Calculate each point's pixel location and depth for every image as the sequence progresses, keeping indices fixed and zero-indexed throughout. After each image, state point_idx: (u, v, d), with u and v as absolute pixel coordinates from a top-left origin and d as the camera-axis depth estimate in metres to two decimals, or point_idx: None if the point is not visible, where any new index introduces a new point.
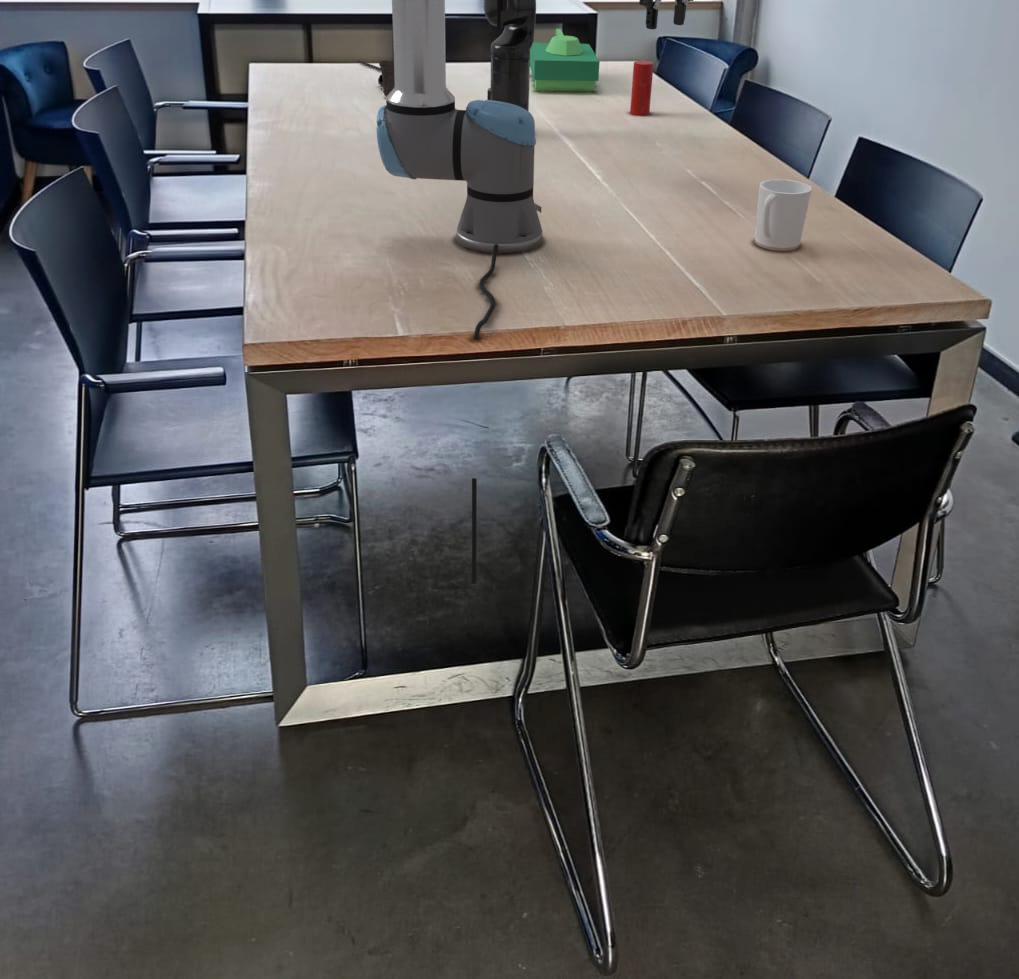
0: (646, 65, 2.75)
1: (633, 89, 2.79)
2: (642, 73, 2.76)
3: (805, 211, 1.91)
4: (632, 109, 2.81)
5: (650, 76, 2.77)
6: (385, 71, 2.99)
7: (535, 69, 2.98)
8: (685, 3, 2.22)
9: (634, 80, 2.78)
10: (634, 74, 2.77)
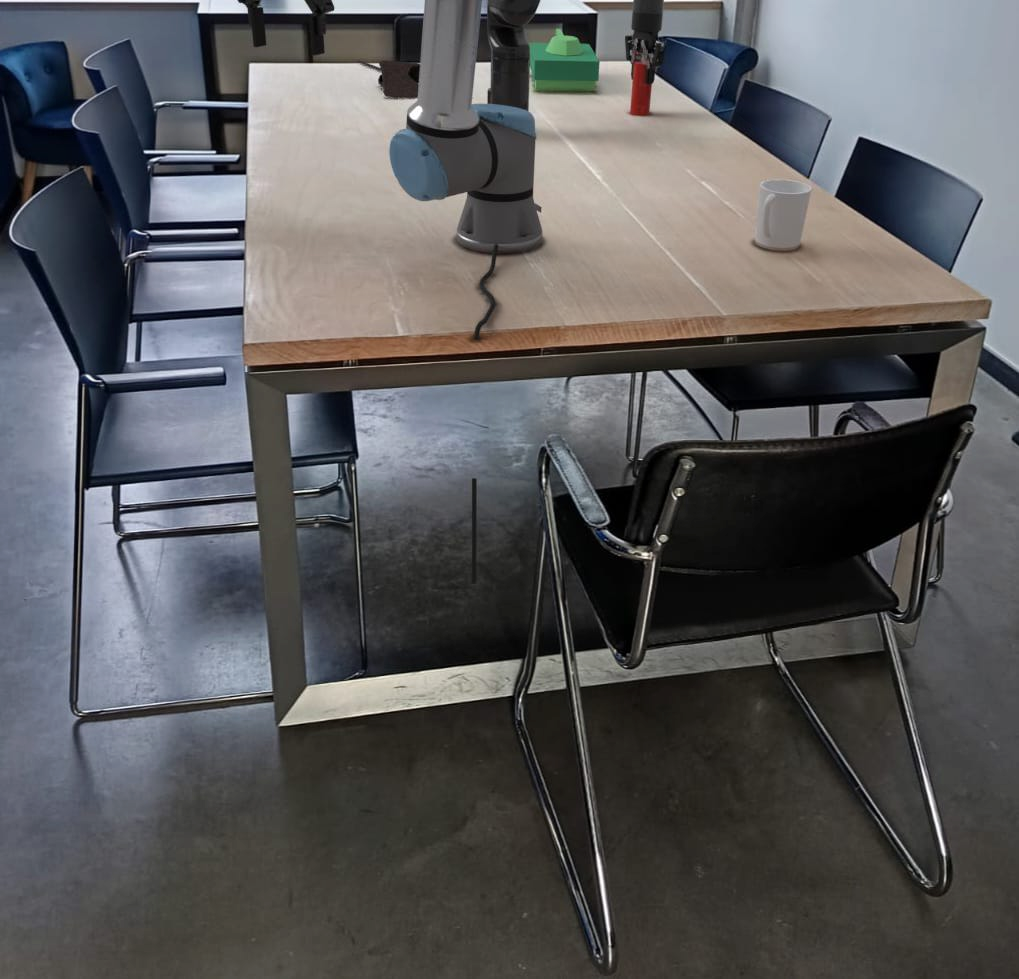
0: (646, 65, 2.75)
1: (633, 89, 2.79)
2: (642, 73, 2.76)
3: (805, 211, 1.91)
4: (632, 109, 2.81)
5: None
6: (385, 71, 2.99)
7: (535, 69, 2.98)
8: (647, 67, 2.74)
9: (634, 80, 2.78)
10: (634, 74, 2.77)
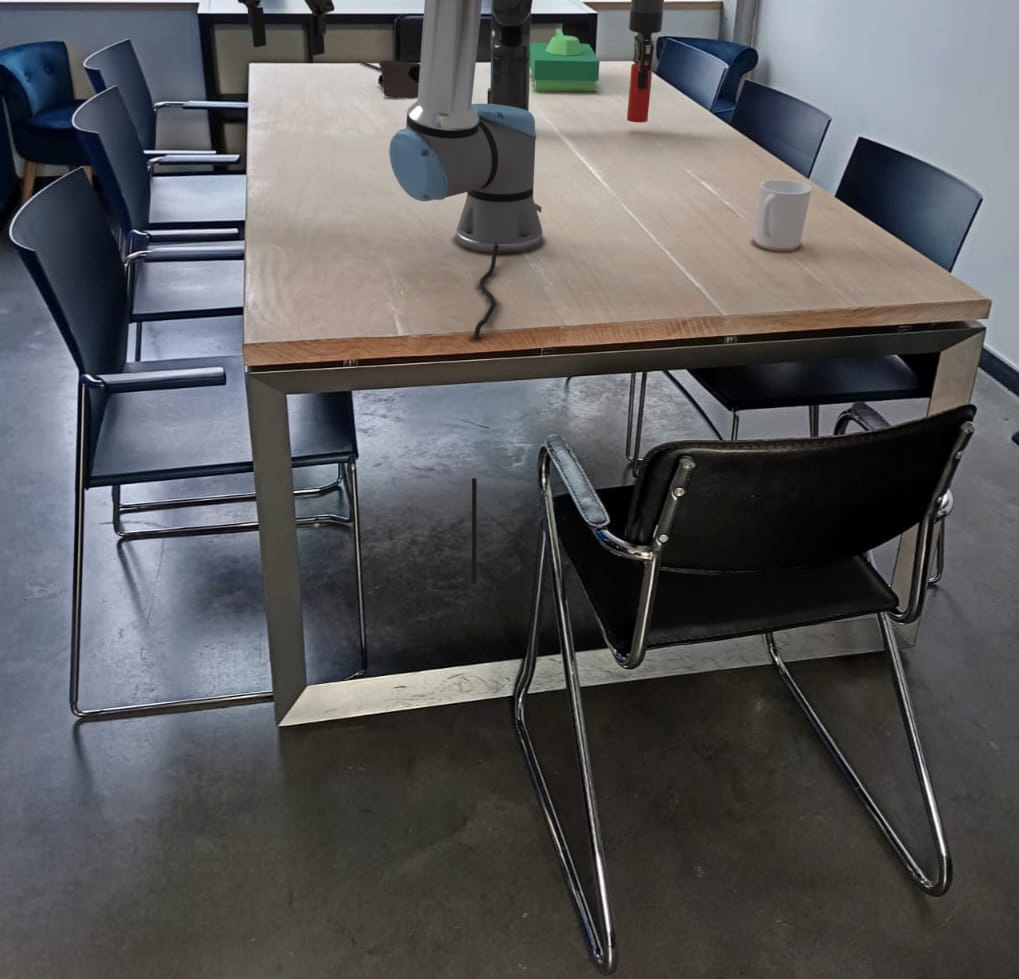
0: None
1: (629, 92, 2.61)
2: (635, 76, 2.57)
3: (805, 211, 1.91)
4: (627, 114, 2.63)
5: None
6: (385, 71, 2.99)
7: (535, 69, 2.98)
8: None
9: (630, 83, 2.60)
10: (630, 77, 2.59)
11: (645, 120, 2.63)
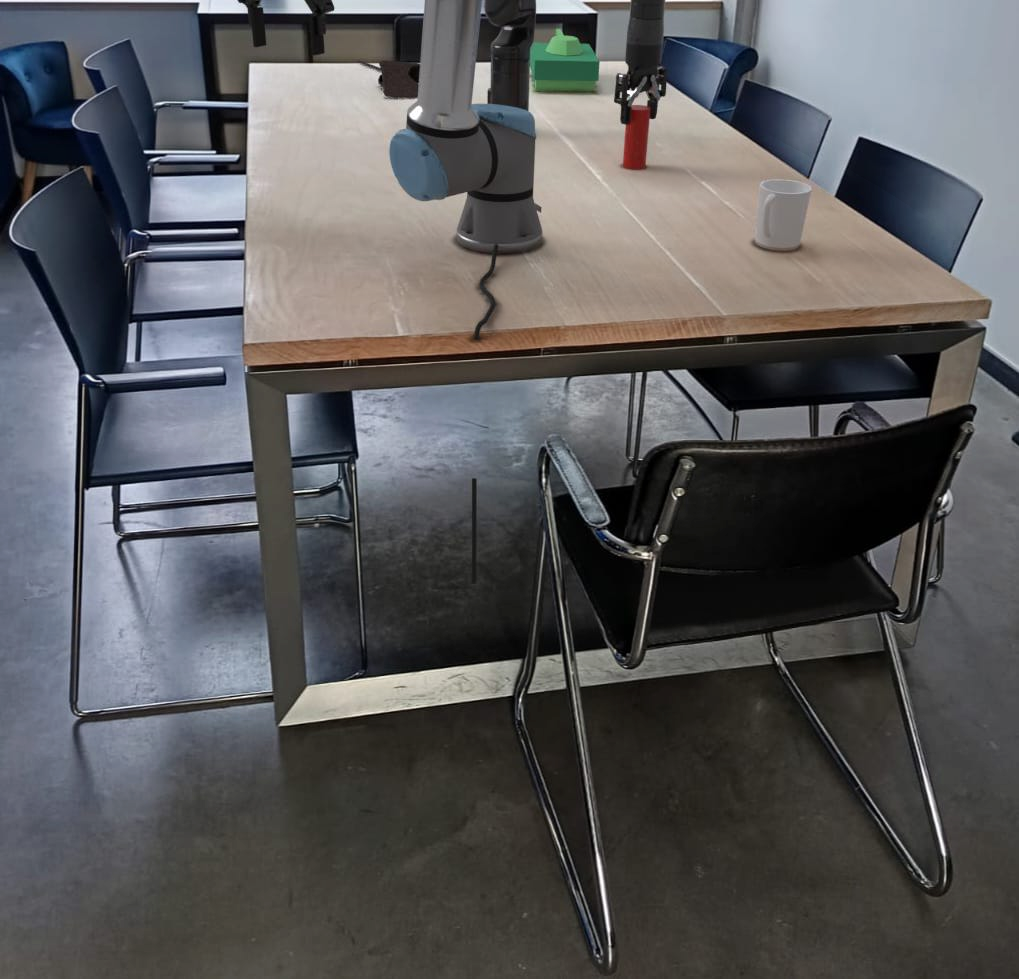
0: None
1: None
2: None
3: (805, 211, 1.91)
4: None
5: (632, 124, 2.33)
6: (385, 71, 2.99)
7: (535, 69, 2.98)
8: None
9: None
10: None
11: (634, 167, 2.37)
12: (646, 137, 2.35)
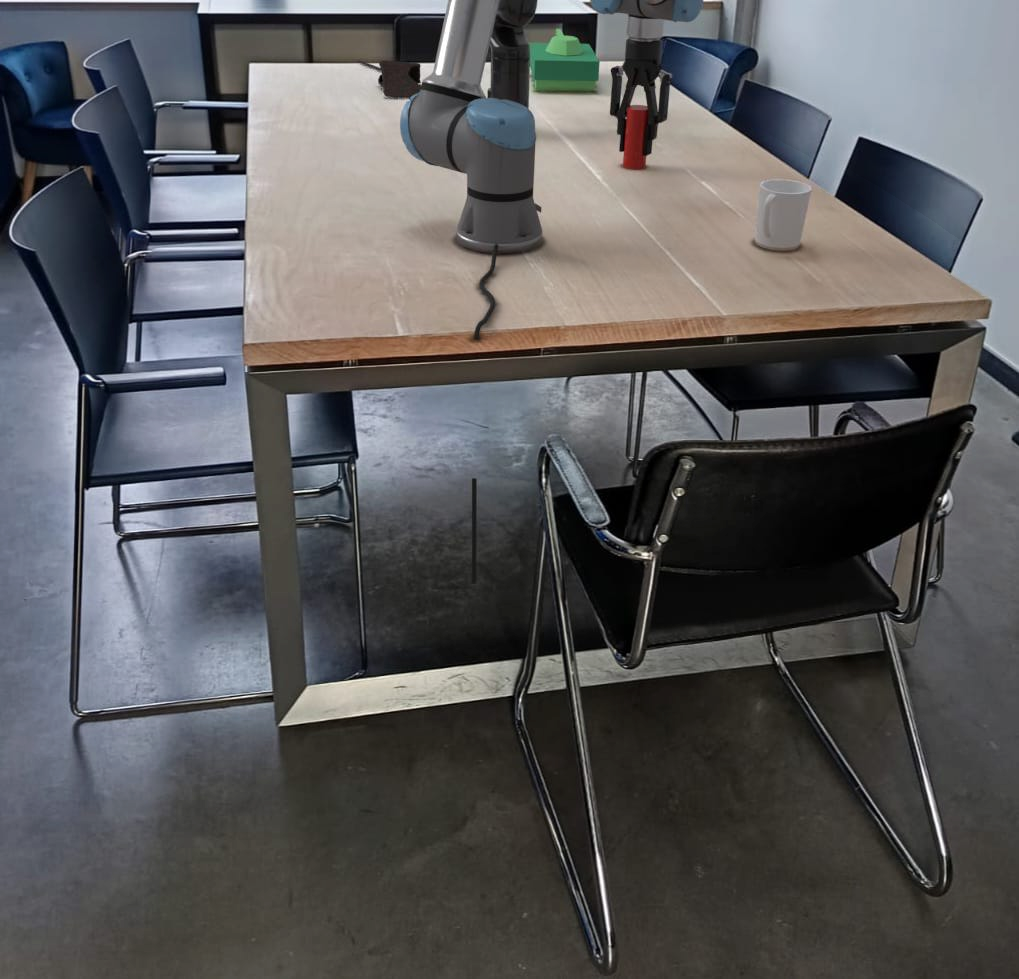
0: (628, 109, 2.33)
1: None
2: (626, 117, 2.34)
3: (805, 211, 1.91)
4: None
5: (632, 124, 2.33)
6: (385, 71, 2.99)
7: (535, 69, 2.98)
8: None
9: None
10: None
11: (634, 167, 2.37)
12: None
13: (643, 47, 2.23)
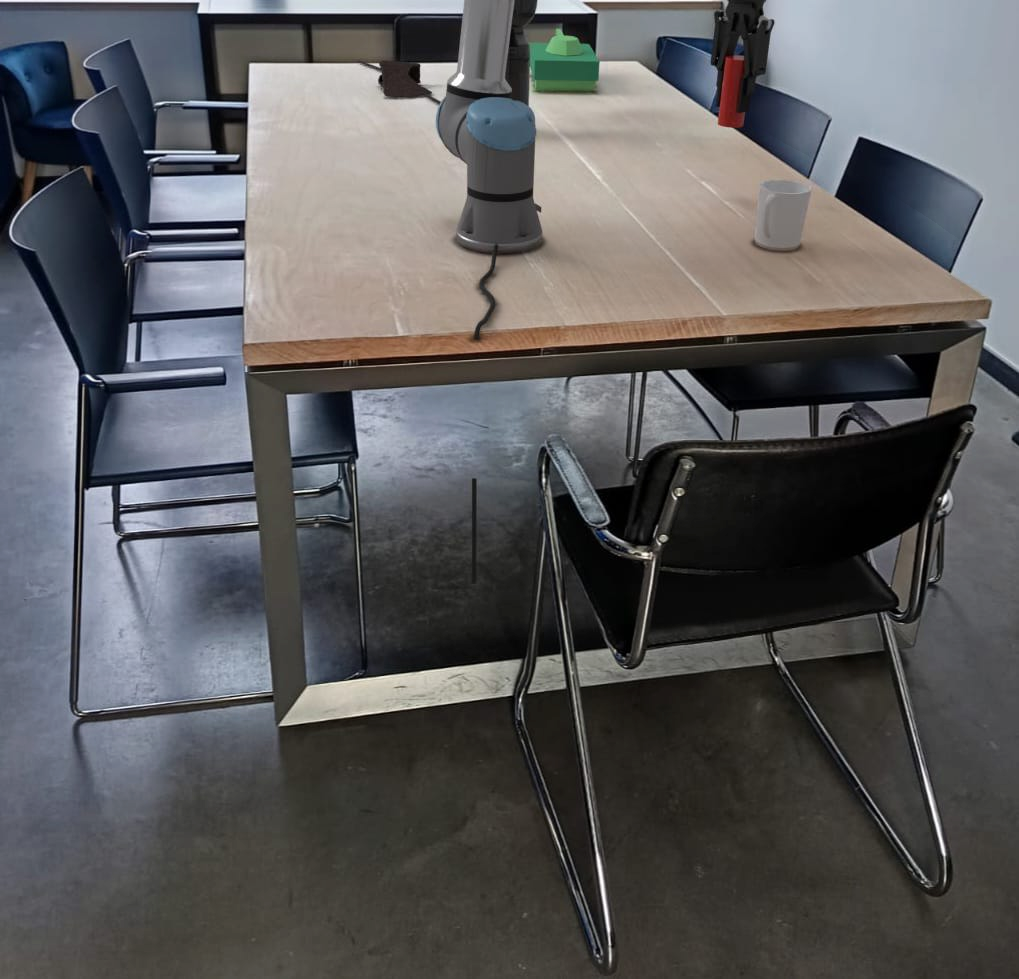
0: None
1: None
2: None
3: (805, 211, 1.91)
4: None
5: (727, 75, 2.10)
6: (385, 71, 2.99)
7: (535, 69, 2.98)
8: None
9: None
10: None
11: (726, 125, 2.14)
12: None
13: None
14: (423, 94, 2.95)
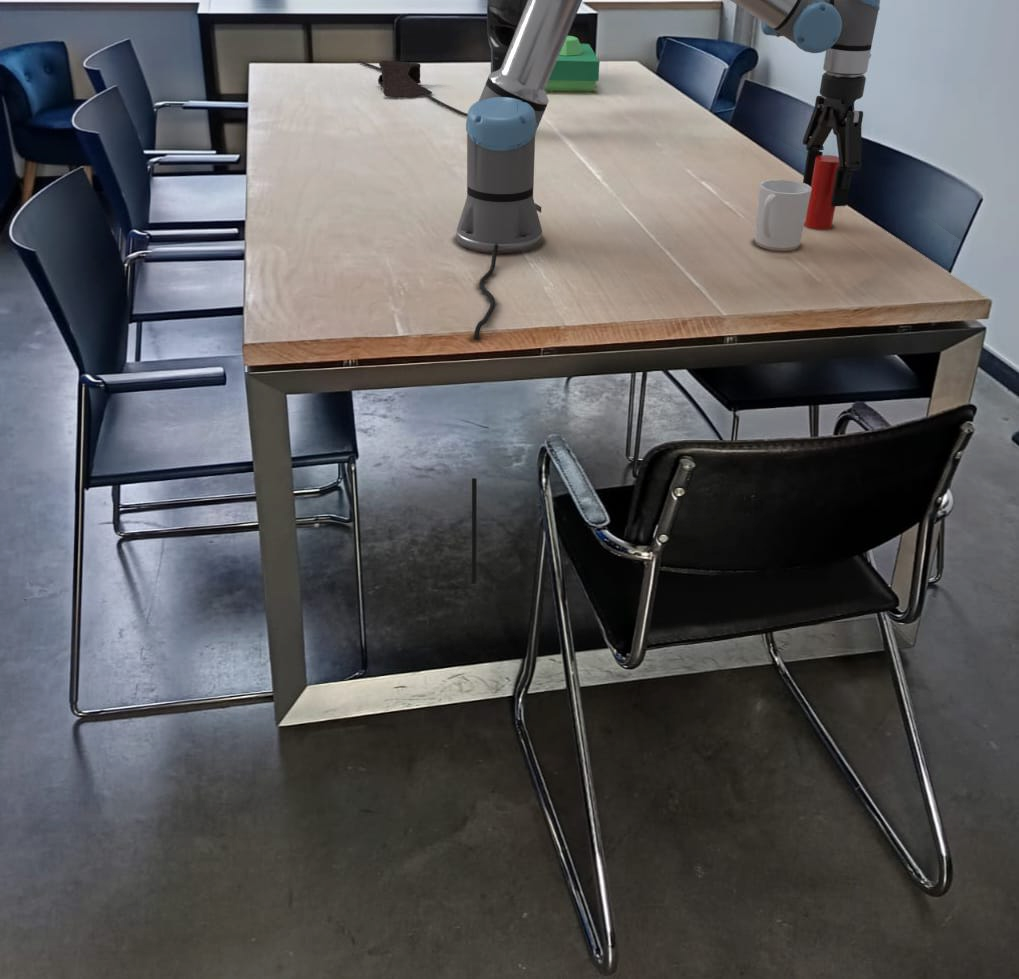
0: None
1: None
2: None
3: (805, 211, 1.91)
4: None
5: (814, 175, 2.02)
6: (385, 71, 2.99)
7: None
8: None
9: None
10: None
11: (810, 225, 2.05)
12: (828, 194, 2.01)
13: (828, 81, 1.91)
14: (423, 94, 2.95)
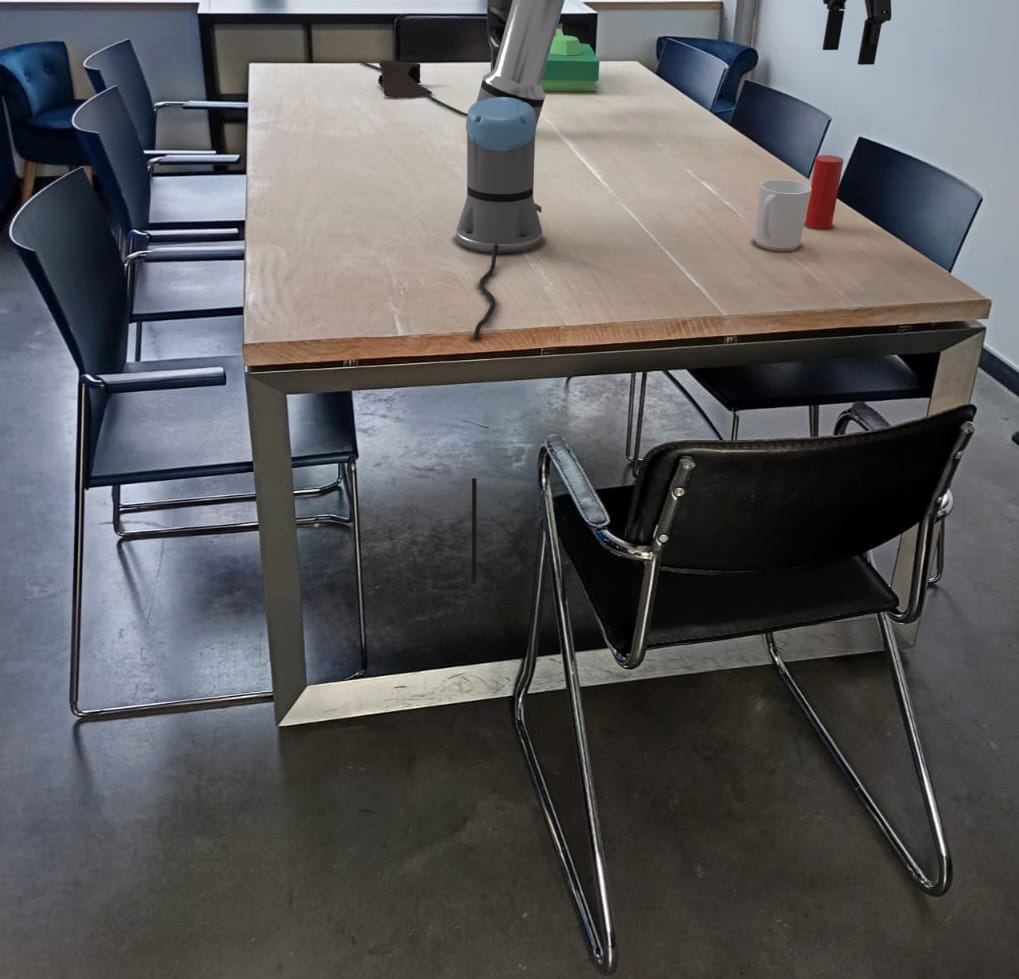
0: None
1: None
2: None
3: (805, 211, 1.91)
4: None
5: (814, 175, 2.02)
6: (385, 71, 2.99)
7: None
8: None
9: None
10: None
11: (810, 225, 2.05)
12: (828, 194, 2.01)
13: None
14: (423, 94, 2.95)
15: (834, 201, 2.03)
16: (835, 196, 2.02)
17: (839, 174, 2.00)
